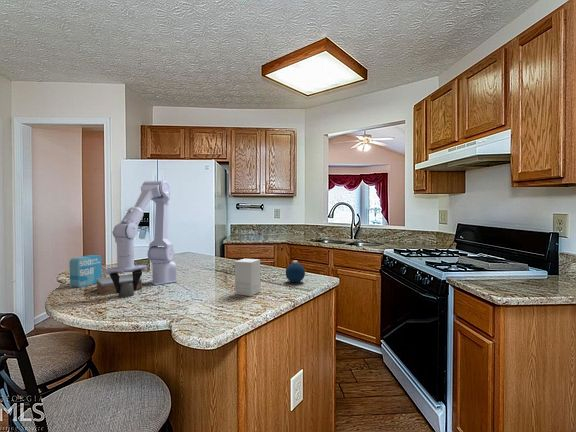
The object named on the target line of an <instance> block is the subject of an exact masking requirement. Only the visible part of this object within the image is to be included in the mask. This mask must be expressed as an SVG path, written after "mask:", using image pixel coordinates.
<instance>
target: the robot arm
mask: <svg viewBox="0 0 576 432" xmlns="http://www.w3.org/2000/svg"><path fill="white" fill-rule="evenodd" d="M140 190H141V192H140V194H139V197H138V198H137V200H136V202H135V204H134V206H133V207H130V208H128V209H127V211H126V213H125V215H124V216H123V218H122V220H121V221H120V222H119V223H117V224H115V226H114V227H113V230H112V231H111V233H112V236H113V238H114V242H115V243H116V266H115V267H110V268H104V269H103V275H104V276H108V275H109V277H111V279H112V281H113V283H114V285H115V288H116V293H115V294H118V295H119V293H120V290H119V277H120V276H121V275H119V274H124V273H131V274H132V275H133V281H134V292H136V291H138V290H137V285H138V282H139V279H140V278H142V275H143V271H148V265H147V264H136V265H135V241H134V239H135V238H136V236H137V235H138V228H139V224H140V222H141V221H142V219H143V217H144V212H143V211H144V210H145V209H146V207H147V206H148V205H149V203H150V201H153V202H154V204H155V213H154V214H155V215H154V216H155V217H154V240H152V241H150V243H149V245H148V246H149V247H148V250H147V259H148V260H149V261H150V263H151V267H152V270H151V271H152V274H151V275H152V280H149V283H150V284H153V285H154V286H157V285H165V284H171V283H176V282H178V281H177V265H176V262H175V261H174V260H173V259H174V257H175V250H174V244H173V243H172V242H171V241H170V240H168V235H169V234H168V233H169V232H168V231H169V206H170V201H171V185H170V184H169V183H168V181H167V180H145V181H144V182H143V183H142V185H141V186H140Z"/></svg>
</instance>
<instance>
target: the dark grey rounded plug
mask: <svg viewBox="0 0 576 432" xmlns="http://www.w3.org/2000/svg"><path fill="white" fill-rule="evenodd" d="M119 290H120V293H118V297H119V298H129V297H133V296H134V295H135V291H134V281H122V282H119Z"/></svg>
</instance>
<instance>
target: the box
mask: <svg viewBox="0 0 576 432" xmlns="http://www.w3.org/2000/svg"><path fill="white" fill-rule="evenodd" d="M142 285H143V283H142V281H139V282H138V285H137V290H136V291H139V290H142V289H143V287H142ZM96 290H97V291H98V292H99V293H100V294H101V296H107V295H114V294H117V293H116V288H115V285H107V286H102V285H101V284H100V283H99V282H98V281H97V283H96Z"/></svg>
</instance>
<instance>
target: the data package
mask: <svg viewBox="0 0 576 432" xmlns="http://www.w3.org/2000/svg"><path fill="white" fill-rule="evenodd" d="M102 261H103V260H102V256H101V255H98V254H88V255H83V256H76V257H72V258H70V259H69V284H70V286H71V287H72V288H84V287H88V286H91V285H95V284H96V285H97V278H103V272H102V271H103V267H102V266H103V265H102Z"/></svg>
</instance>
